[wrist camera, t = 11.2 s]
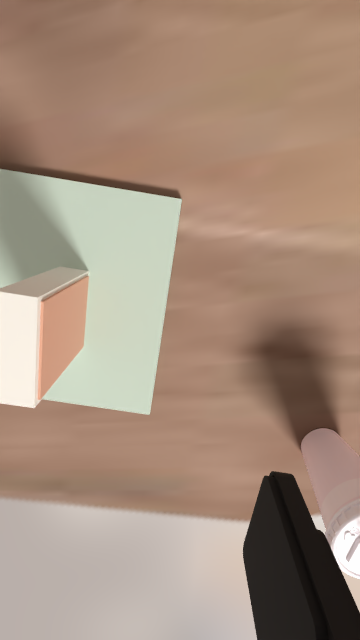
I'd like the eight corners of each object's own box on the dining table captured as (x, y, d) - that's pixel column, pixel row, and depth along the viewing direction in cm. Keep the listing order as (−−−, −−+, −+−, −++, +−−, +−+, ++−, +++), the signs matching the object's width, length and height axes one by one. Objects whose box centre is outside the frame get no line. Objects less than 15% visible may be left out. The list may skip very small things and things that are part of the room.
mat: (-95, 153, 23) (-102, 151, 23) (181, 199, 24) (181, 198, 23) (-76, 377, 28) (-81, 381, 28) (150, 410, 29) (149, 414, 28)
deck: (60, 266, 25) (-7, 290, 16) (90, 271, 25) (40, 298, 16) (56, 343, 27) (-6, 402, 18) (85, 348, 27) (36, 408, 18)
